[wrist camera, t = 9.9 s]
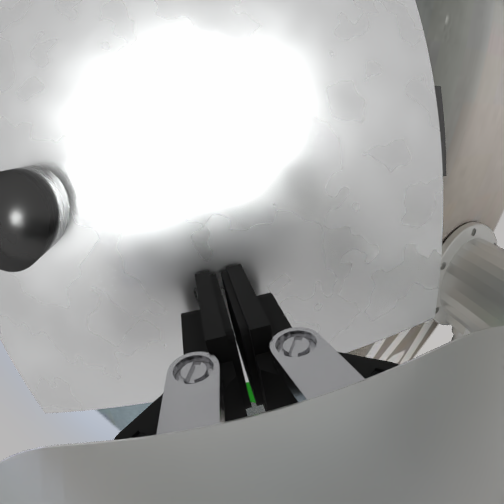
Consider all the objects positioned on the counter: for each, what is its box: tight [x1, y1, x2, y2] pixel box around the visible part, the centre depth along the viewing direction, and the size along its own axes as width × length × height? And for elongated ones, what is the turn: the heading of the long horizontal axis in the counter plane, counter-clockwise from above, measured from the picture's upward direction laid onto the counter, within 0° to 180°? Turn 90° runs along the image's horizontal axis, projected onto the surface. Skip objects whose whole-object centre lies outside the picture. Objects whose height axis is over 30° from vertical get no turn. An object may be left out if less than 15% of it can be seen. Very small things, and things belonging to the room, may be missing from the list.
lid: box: [0, 0, 443, 413], centre depth 9 cm, size 18×20×3 cm
